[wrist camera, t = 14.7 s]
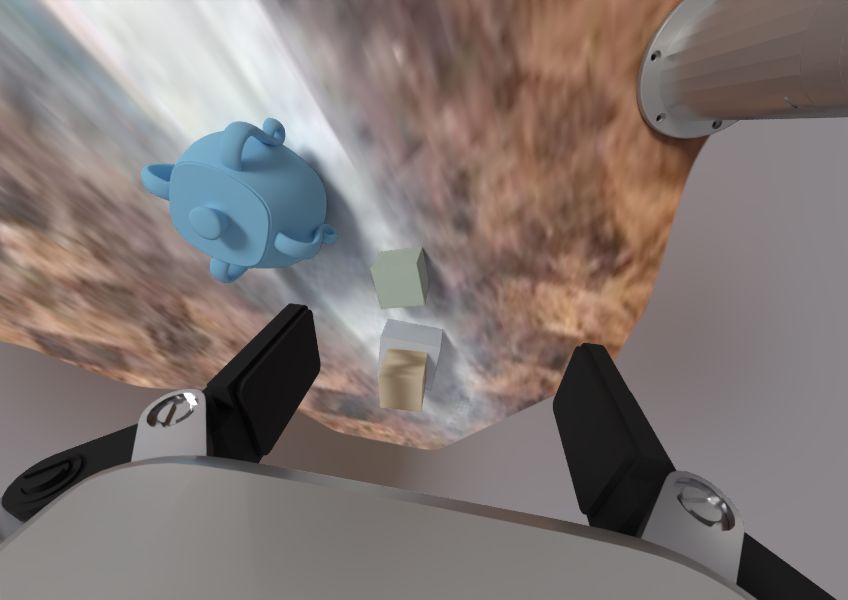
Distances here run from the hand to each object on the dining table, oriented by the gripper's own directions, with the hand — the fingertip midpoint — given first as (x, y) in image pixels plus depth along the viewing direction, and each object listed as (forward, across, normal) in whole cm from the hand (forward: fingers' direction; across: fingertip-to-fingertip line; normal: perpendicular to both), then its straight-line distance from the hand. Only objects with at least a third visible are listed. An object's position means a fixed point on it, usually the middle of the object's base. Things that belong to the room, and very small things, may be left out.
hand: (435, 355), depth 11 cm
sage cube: (+31, +7, +12) cm, 34 cm away
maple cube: (+26, +5, +26) cm, 37 cm away
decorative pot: (+31, +25, +3) cm, 40 cm away
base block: (+31, +5, +26) cm, 41 cm away
